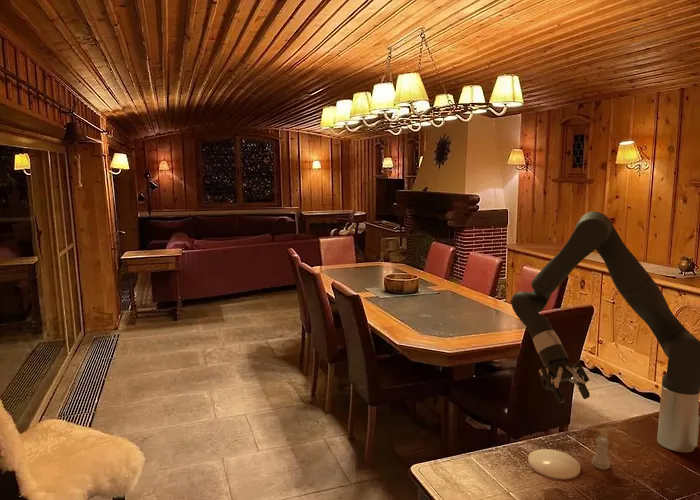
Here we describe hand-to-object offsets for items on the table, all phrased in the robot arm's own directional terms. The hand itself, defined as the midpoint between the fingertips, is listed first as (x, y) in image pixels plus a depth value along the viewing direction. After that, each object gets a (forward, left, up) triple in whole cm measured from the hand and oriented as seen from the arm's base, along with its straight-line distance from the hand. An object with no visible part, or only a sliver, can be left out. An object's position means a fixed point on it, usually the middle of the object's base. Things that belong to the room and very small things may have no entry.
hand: (575, 400), depth 144 cm
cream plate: (+12, +7, -14) cm, 20 cm away
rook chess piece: (0, +11, -14) cm, 18 cm away
